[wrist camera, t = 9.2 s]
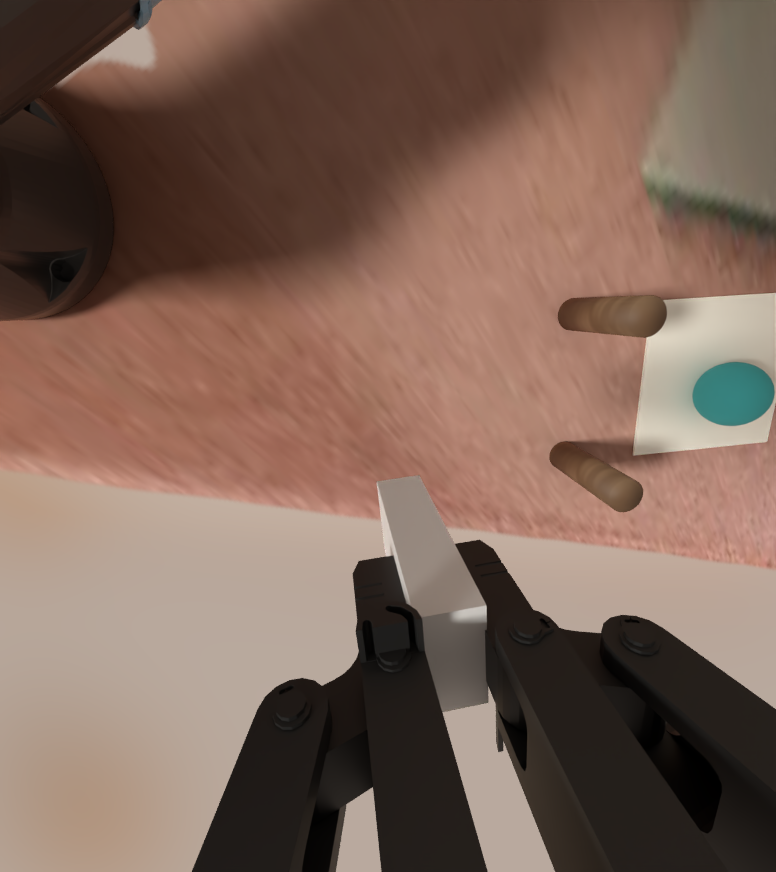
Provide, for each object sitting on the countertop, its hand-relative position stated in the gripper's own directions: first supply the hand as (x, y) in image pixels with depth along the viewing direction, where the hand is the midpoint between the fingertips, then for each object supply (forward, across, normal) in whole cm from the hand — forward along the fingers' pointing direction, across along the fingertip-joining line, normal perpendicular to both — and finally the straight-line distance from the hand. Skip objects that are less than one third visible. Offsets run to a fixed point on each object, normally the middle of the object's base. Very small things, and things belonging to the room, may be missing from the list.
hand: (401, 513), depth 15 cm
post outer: (+21, +18, -9) cm, 29 cm away
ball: (+18, +32, -4) cm, 37 cm away
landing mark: (+21, +32, -3) cm, 39 cm away
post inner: (+21, +19, +4) cm, 29 cm away
